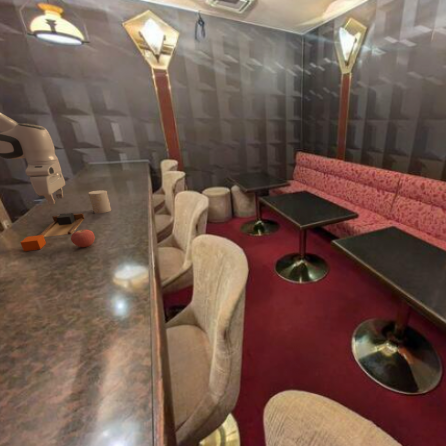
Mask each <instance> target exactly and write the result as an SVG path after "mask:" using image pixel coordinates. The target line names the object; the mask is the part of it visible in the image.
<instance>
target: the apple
mask: <svg viewBox="0 0 446 446" xmlns="http://www.w3.org/2000/svg"><path fill="white" fill-rule="evenodd" d="M95 240H96V239H95V233H94V232H93V231H92V230H90V229H79V230H77V231H76V230H75V231H74V232H73V234H71V236H70V241H71V242H72V244H74V245H75V246H76V247H78V248H88V247H90V246H92V245H93V244H94V242H95Z"/></svg>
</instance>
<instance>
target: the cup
mask: <svg viewBox="0 0 446 446" xmlns="http://www.w3.org/2000/svg"><path fill="white" fill-rule="evenodd" d="M88 196H89V197H88V198H89V200H90V204H91V207H92V210H93V213H95V214H103V213H109V212H111V211H112V207H111V203H110V200H109V195H108V191H107V190H103V189H102V190H100V189H99V190H93V191H88Z"/></svg>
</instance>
